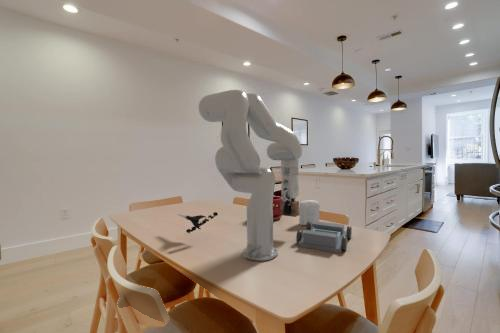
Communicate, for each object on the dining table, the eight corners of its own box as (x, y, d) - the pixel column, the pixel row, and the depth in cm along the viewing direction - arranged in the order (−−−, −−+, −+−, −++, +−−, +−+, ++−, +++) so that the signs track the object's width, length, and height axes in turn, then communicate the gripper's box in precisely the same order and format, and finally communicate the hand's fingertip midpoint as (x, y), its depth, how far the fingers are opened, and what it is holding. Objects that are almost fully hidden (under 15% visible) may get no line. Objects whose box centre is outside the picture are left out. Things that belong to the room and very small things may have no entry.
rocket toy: (188, 219, 96) (163, 210, 113) (189, 235, 96) (163, 223, 113) (218, 212, 106) (191, 205, 123) (219, 227, 106) (191, 217, 123)
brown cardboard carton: (295, 216, 104) (295, 202, 104) (280, 215, 108) (280, 201, 108) (298, 214, 108) (298, 201, 108) (283, 213, 112) (283, 200, 112)
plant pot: (286, 220, 132) (286, 198, 132) (262, 222, 130) (262, 200, 129) (279, 214, 145) (279, 194, 144) (257, 216, 143) (257, 195, 142)
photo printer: (317, 222, 128) (317, 198, 127) (320, 224, 124) (320, 200, 123) (298, 223, 127) (298, 199, 126) (301, 226, 122) (300, 201, 122)
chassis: (344, 254, 88) (344, 239, 88) (295, 245, 97) (295, 232, 96) (352, 235, 107) (352, 223, 107) (310, 229, 116) (310, 218, 116)
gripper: (291, 173, 98) (291, 218, 99) (303, 171, 113) (303, 210, 114) (274, 172, 102) (274, 216, 102) (288, 170, 117) (288, 209, 117)
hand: (289, 212), depth 108 cm, fingers closed on brown cardboard carton, 4 cm apart
